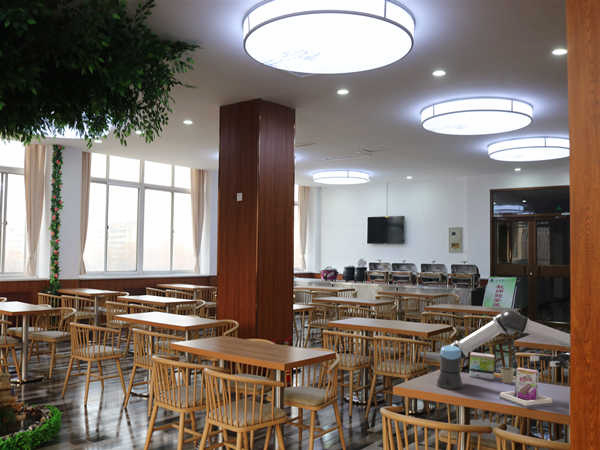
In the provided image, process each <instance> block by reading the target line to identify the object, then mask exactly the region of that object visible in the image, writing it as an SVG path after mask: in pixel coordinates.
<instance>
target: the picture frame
mask: <svg viewBox="0 0 600 450" xmlns="http://www.w3.org/2000/svg"><path fill="white" fill-rule="evenodd" d="M499 400H502V401H504V402H507V403H510V404H512V405H516V406H518V407H521V408H523V409H531V408H532V409H533V408H540V407H549V406H553V398H552V397H548V396H545V395H543V394H539V393H538V400H529V401H528V400H523V399H519V398H516V397H515V390H513V391H502V392H499Z"/></svg>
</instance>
